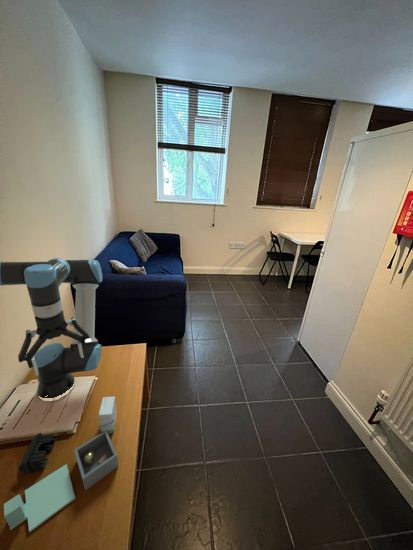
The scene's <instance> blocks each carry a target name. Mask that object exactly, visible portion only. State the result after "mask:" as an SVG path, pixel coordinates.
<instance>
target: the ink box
mask: <svg viewBox="0 0 413 550" xmlns="http://www.w3.org/2000/svg"><path fill="white" fill-rule="evenodd" d="M117 414H118V413H117V405H116V396H115V395H113V396H103V397H102V400H101V404H100V407H99V412H98V421H99V422H98V423H99V428H100V434H101V433H102V432H104V431H107V433H108V435H109V434H110V435H111V434H114V432H115V427H116V422H117Z"/></svg>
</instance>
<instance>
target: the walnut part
mask: <svg viewBox="0 0 413 550" xmlns="http://www.w3.org/2000/svg"><path fill="white" fill-rule="evenodd" d="M109 458H110V457H109V456H108V455H106V454H105V455H104V456H103V457H102V458H101V459H100V460H99V461H98V464H99V465H100V464H101V463H103V462H104V461H106V460H107V459H109Z"/></svg>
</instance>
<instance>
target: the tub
mask: <svg viewBox="0 0 413 550" xmlns="http://www.w3.org/2000/svg"><path fill="white" fill-rule="evenodd" d="M87 451H93V455H94V463H93V464H92V465H91V466H89V467H87V466H86V465H85V461H84V454H85V453H86V452H87ZM73 452H74V456H75V460H76V464H77V468H78V470H79V474H80V477H81V481H82V485H83V487H84V491H87V490H88V489H89V488H91V487H92V486H93V485H95V484H96V483H98V482H100V480H102V479H103V478H104V477H106V476H108V475H109V474H110V473H112V472H113V471H114V470H115V469H116V468H118V467H119V458H118V454H117V451H116V449H115V447H114V445H113V442H112V440H111V438H110V435H109V434H108V433H107V431H104V432H102V433H101V432H100V433H99V434H98V435H96V436H95V437H93V438H91V439H88V440H87V441H86V442H85V443H83V444H81V445H80V446H78V447H76V448H74V450H73ZM105 454H106V455H108V456H109V457H110V458H109V459H107V460H106V461H104V462H103V463H101V464H100V465H99V464H98V461H99V460H100V459H101V458H102V457H103V456H104V455H105Z"/></svg>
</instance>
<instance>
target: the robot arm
mask: <svg viewBox="0 0 413 550" xmlns="http://www.w3.org/2000/svg"><path fill="white" fill-rule="evenodd" d="M102 282H103V272H102V267H101V263H100V262H99V261H98V260H96V259H63V258H59V257H54V258H52V259H49V260H48V261H0V286H1V287H2V286H20V285H21V286H22V285H25V286H26V288H27V292H28V296H29V299H30V304H31V308H32V312H33V316H34V319H35V324H36V329H35V330H30V329H27V330H25V337H24V338H25V339H24V341H23V342H22V343H23V344H22V346H21V348H20V351H19V354H18V355H17V358H18V362H19V363H22V362H26V363H27V366H28V368H29V369H32V368H33V370H34V374H35V376H37V378H38V385H37V388H36V389H37V390H36V393H37V394H36V395H37V397H38V396H40V397H42V398H54V397H57V396H59V395H62V394H63V393H65V392H66V391H67V390H69V389H70V388H71V387H72V386H73V384H74V381H75V377H74V375H73V373H74V374H75V373H82V372H85V373H86V372H90V371H94V370H95V371H96V369H97V368H98V366H99V364H100V361H101V357H102V344H99V341H98V339H97V338H96V337H95V327H96V326H95V325H96V324H95V321H96V307H95V306H96V289H97V288H98V287H99V286H100V285H99V283H100V284H101V283H102ZM62 284H72V287H73V288H74V289H75V308H74V309H75V310H74V316H73V317H70V319H69V320H65V315H64V310H63V305H62V304H63V303H62V300H61V294H60V289H59V288H60V286H61V285H62ZM68 326H70V327H74V331H72V330H70V329H68V328H67V327H68ZM36 335H38V338H37V339H36V341H35V342H34V343H33V345H32V346H31V344H32V339H34V338H35V336H36ZM62 335H63V336H65V337H69V338H71V339H73V340H72V341H71V342H70V345H69V347H64V345H63V344H62V343H60V342H54V343H50V344H47V345H45V346H43V347H42V345H43V344H45V343H46V341H47V340H53V339H54V338H59V337H61V336H62ZM30 346H31V348H30ZM41 347H42V348H41ZM29 348H30V349H29ZM75 382H76V381H75ZM47 395H48V396H47ZM45 396H47V397H45Z"/></svg>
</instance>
